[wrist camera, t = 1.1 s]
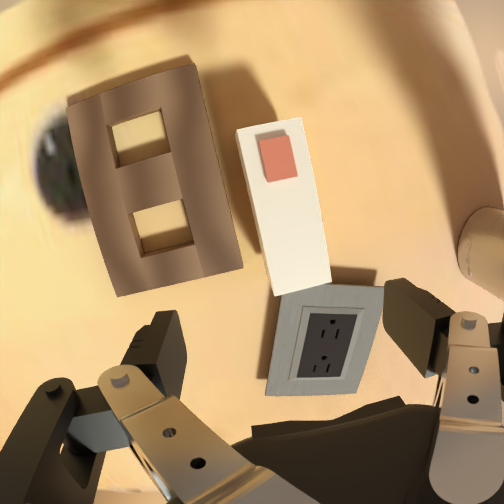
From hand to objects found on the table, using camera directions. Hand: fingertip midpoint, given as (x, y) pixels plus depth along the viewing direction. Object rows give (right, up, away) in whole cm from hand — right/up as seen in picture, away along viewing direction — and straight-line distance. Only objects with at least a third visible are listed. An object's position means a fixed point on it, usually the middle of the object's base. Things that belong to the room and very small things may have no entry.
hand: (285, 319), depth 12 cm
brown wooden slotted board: (-10, +8, +15) cm, 20 cm away
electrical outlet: (+6, -6, +21) cm, 23 cm away
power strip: (+1, +7, +16) cm, 18 cm away
